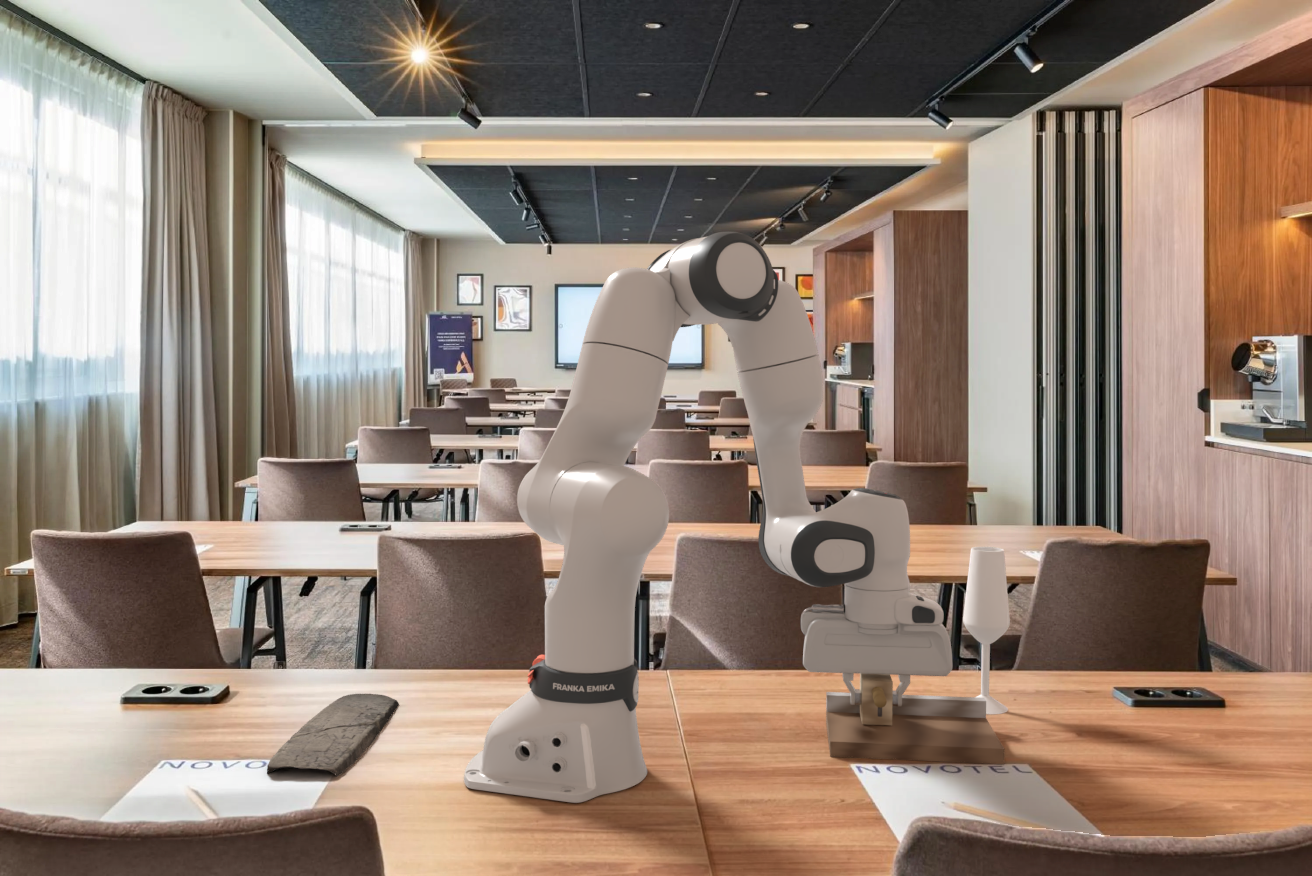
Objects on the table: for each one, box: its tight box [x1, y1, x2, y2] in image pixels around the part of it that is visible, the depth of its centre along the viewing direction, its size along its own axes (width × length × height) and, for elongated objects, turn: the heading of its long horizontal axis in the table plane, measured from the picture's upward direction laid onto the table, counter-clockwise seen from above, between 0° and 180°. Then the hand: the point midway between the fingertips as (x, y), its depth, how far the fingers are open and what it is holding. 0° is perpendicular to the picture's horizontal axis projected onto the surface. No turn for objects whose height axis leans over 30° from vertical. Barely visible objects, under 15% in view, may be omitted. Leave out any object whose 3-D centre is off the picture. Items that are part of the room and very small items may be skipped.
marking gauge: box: [859, 674, 894, 726], centre depth 142 cm, size 4×9×6 cm, turn 173°
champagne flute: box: [962, 546, 1011, 715], centre depth 156 cm, size 7×7×24 cm
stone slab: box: [266, 693, 400, 778], centre depth 143 cm, size 10×3×30 cm
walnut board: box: [825, 691, 1005, 765], centre depth 141 cm, size 22×14×4 cm, turn 83°
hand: (875, 704), depth 144 cm, fingers closed on marking gauge, 4 cm apart
